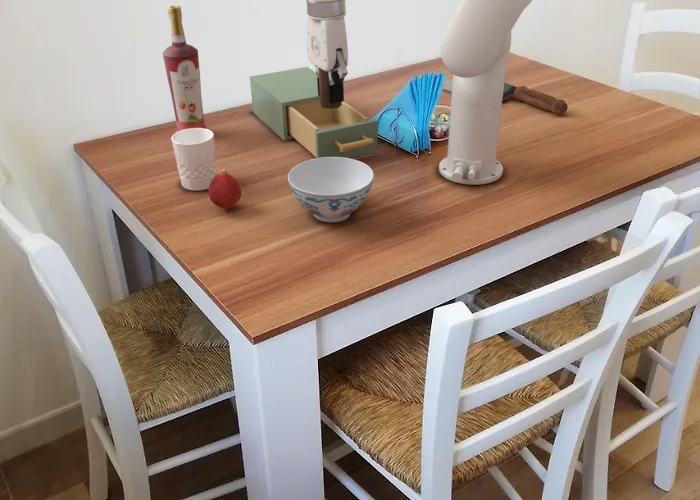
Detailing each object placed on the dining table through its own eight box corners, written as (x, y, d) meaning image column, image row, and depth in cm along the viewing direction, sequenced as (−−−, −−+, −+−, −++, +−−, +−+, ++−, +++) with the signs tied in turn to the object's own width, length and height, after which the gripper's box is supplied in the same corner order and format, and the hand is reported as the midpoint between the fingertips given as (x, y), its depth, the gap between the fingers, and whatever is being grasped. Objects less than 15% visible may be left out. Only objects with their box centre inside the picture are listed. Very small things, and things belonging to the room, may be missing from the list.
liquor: (181, 144, 156) (161, 13, 141) (171, 133, 161) (151, 5, 146) (213, 137, 158) (196, 8, 144) (202, 126, 164) (185, 1, 149)
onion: (211, 218, 127) (206, 178, 123) (210, 203, 132) (205, 164, 128) (244, 215, 128) (239, 175, 124) (242, 200, 133) (237, 161, 129)
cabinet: (344, 128, 162) (343, 91, 157) (284, 141, 156) (281, 102, 152) (308, 101, 177) (307, 66, 172) (252, 112, 171) (249, 76, 167)
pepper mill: (337, 109, 146) (335, 66, 141) (317, 107, 147) (315, 64, 142) (344, 102, 149) (342, 59, 144) (324, 100, 150) (322, 58, 146)
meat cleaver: (436, 86, 185) (437, 71, 182) (468, 77, 190) (469, 62, 188) (535, 127, 162) (538, 110, 159) (568, 115, 167) (571, 99, 165)
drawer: (388, 159, 145) (388, 127, 142) (328, 173, 140) (327, 141, 136) (338, 122, 163) (337, 93, 159) (283, 133, 157) (281, 103, 154)
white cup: (183, 195, 135) (175, 147, 130) (175, 178, 141) (167, 131, 136) (223, 188, 138) (217, 140, 132) (214, 171, 144) (208, 125, 138)
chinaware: (279, 203, 132) (276, 166, 128) (353, 187, 137) (352, 151, 133) (308, 242, 120) (306, 201, 116) (387, 223, 125) (388, 183, 121)
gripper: (291, 2, 143) (298, 90, 152) (327, 19, 130) (332, 114, 139) (325, -3, 145) (329, 84, 155) (363, 13, 133) (366, 107, 142)
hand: (330, 97), depth 147 cm, fingers closed on pepper mill, 4 cm apart
